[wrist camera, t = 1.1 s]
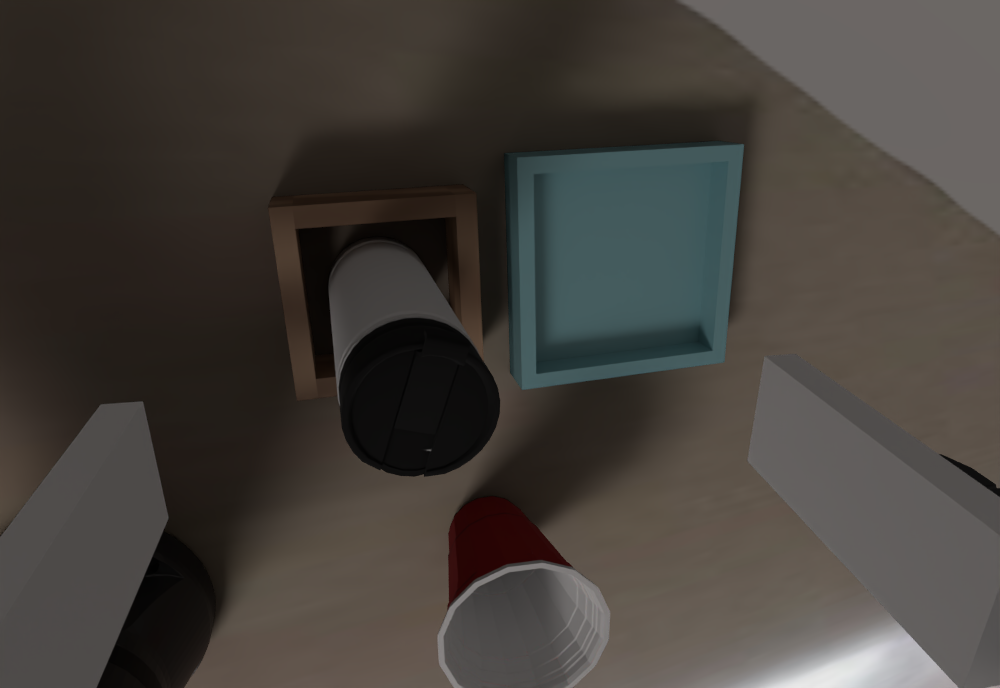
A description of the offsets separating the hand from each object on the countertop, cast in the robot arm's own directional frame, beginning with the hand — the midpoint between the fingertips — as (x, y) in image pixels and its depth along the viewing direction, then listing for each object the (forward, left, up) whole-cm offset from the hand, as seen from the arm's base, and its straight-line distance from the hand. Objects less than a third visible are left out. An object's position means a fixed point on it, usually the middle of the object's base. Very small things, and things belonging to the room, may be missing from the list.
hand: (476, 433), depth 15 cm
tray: (-5, -16, -31) cm, 35 cm away
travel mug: (-5, 0, -31) cm, 31 cm away
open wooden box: (-5, 0, -31) cm, 31 cm away
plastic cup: (-25, -6, -31) cm, 40 cm away
